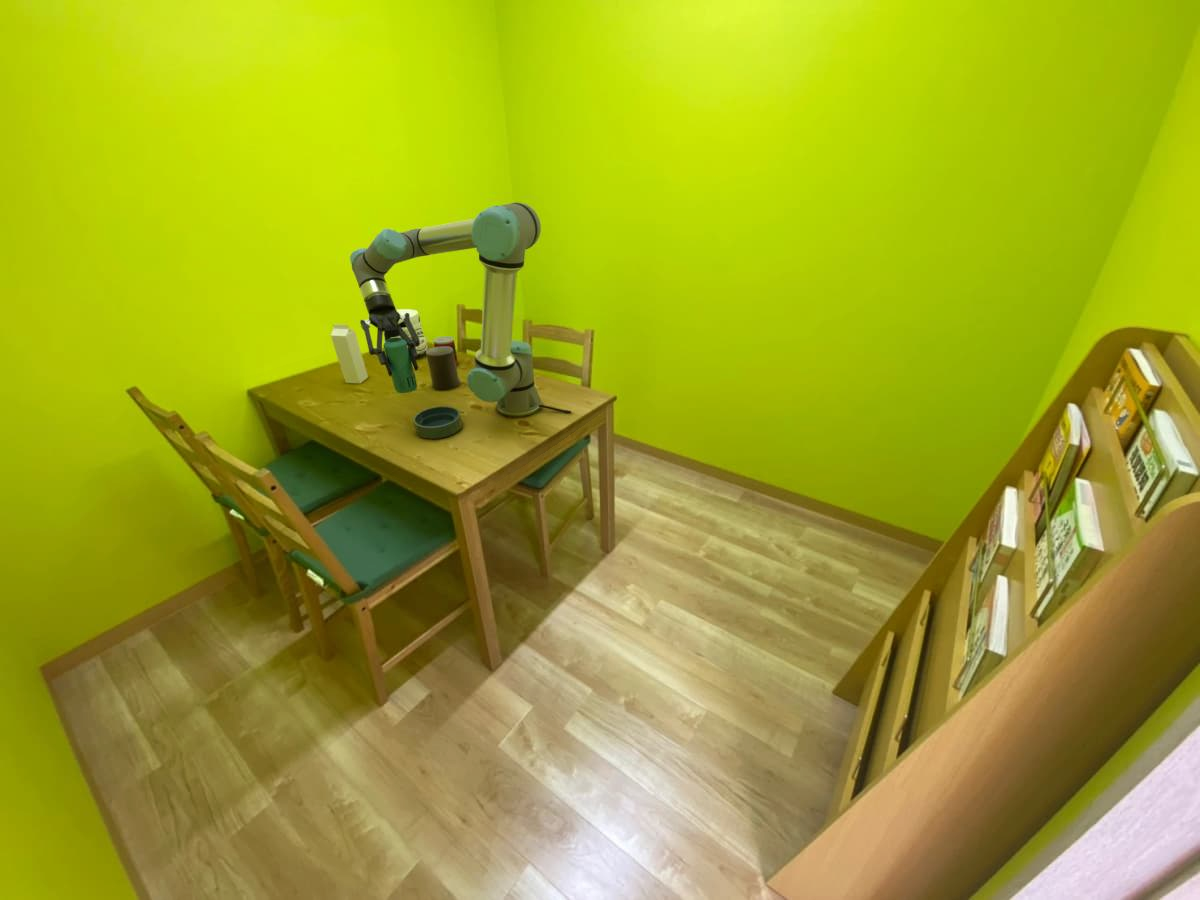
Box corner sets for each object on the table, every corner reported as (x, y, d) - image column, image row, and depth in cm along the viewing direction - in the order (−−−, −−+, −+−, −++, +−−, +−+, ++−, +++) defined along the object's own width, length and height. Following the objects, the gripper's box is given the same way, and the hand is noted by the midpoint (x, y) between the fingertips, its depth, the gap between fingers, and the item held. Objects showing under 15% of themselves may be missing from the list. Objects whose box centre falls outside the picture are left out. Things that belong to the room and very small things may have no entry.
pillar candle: (449, 392, 176) (441, 353, 168) (427, 388, 179) (419, 349, 171) (464, 381, 184) (458, 344, 176) (443, 378, 187) (436, 341, 179)
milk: (360, 383, 183) (343, 327, 171) (345, 383, 183) (327, 327, 171) (368, 377, 188) (352, 322, 176) (354, 376, 189) (337, 321, 177)
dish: (466, 417, 159) (464, 405, 156) (456, 439, 147) (454, 427, 144) (423, 418, 159) (420, 406, 156) (410, 440, 147) (407, 428, 144)
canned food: (440, 362, 201) (435, 336, 195) (459, 361, 202) (454, 335, 196) (436, 369, 195) (431, 343, 189) (456, 368, 195) (452, 342, 189)
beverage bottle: (411, 398, 140) (395, 332, 129) (391, 397, 141) (373, 330, 130) (423, 389, 145) (408, 324, 135) (403, 387, 146) (387, 323, 136)
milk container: (428, 360, 202) (419, 318, 193) (385, 364, 199) (373, 322, 189) (430, 346, 217) (422, 307, 207) (390, 350, 213) (380, 310, 204)
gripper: (412, 302, 147) (437, 369, 144) (343, 312, 138) (368, 384, 135) (412, 288, 140) (438, 358, 137) (340, 298, 132) (366, 372, 128)
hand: (403, 370), depth 136 cm, fingers closed on beverage bottle, 6 cm apart
